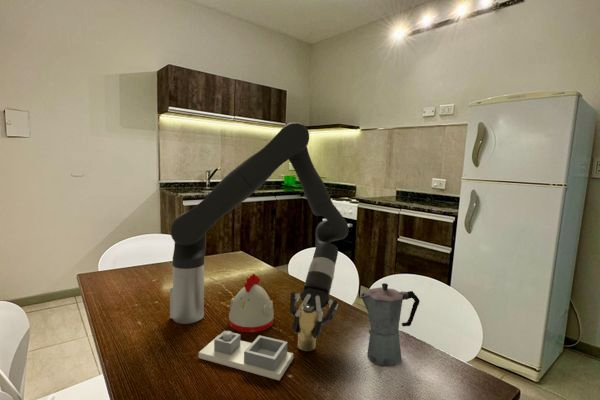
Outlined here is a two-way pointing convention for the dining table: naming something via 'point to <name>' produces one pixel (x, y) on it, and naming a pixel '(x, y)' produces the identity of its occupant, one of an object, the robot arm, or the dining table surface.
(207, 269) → the dining table surface
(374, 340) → the moka pot
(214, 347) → the white tray
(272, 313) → the kitchen timer
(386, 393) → the dining table surface
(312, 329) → the gold bottle
